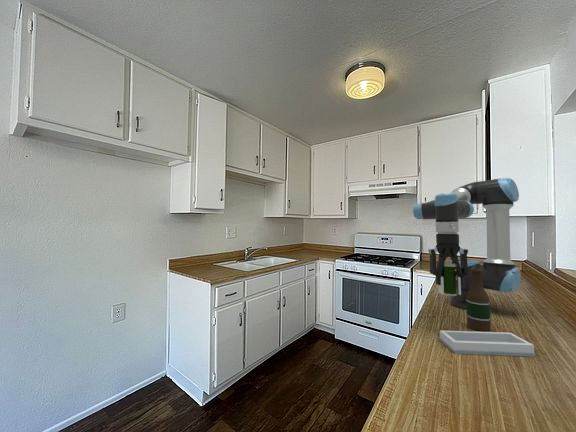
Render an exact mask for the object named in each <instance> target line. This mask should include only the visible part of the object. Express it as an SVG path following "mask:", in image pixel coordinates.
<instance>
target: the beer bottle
mask: <svg viewBox="0 0 576 432" xmlns="http://www.w3.org/2000/svg"><path fill="white" fill-rule="evenodd" d="M471 272H472V285H471V289H470V290H469V291H468V293H467V297H466V303H467V309H466V321H467V322H466V323H467V327H468V328H469V329H471V330H473V331H475V332H491V331H490V330H491V327H492V326H491V325H492V320H491V302H490V297H489V295H488V292H487V291H486V289H484V288H483V282H482V274H481V272H482V270H481V269H476V268H473V269H471Z"/></svg>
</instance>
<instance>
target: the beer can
mask: <svg viewBox="0 0 576 432" xmlns="http://www.w3.org/2000/svg"><path fill="white" fill-rule="evenodd" d="M441 276H442V277H443V281H444V294H443V295H445V296H448V297H451V296H457V294H458V283H457V266H456V263H455V264H454V263H452V261H451V262H450V261H445V262H444V266H443V270H442V274H441Z"/></svg>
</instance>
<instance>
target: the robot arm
mask: <svg viewBox="0 0 576 432" xmlns="http://www.w3.org/2000/svg"><path fill="white" fill-rule="evenodd" d="M519 199H520V192H519V189H518V185H517V184H516V182H515V180H513V179H512V178H510V177H502V178H501V177H499V178H493V179H488V180H487V179H486V180H480V181H474V182H470V183H467V184H464V185H462V186H459V187H457V188H454V189H453V190H452V191H451V192H446V193H439V194H436V195H435V197H434V199H432V200H429V201H428V202H420V203H416V204H415V205H414V206H413V208H412V213H413V216H414V218H415V219H416V220H424V221H425V220H435V233H436V234H435V242H436V245H435V247H434V248H428V249H427V250H428V253H429V273H430V275H432V276H435V285H437V289H438V290H437V291H438V294H441V295H444V281H443V277H442V276H441V274H442V270H443V266H444V262H446V260H447V258H450V260H451V262H452V263H454V264H455V263H456V266H457V283H458V294H457V296H450V299H449V304H450V305H451V306H453V307H456V308H459V309H463V310H467V303H466V297H467V293H468V291H469V290H470V289H471V285H472V272H471V269H473V268H476V269H481V270H482V272H481V274H482V282H483V288H484V290H490V291H496V292H500V293H509V294H511V293H515V292H516V291H517V290H518V289H519V287H520V284H521V279H522V273H521V270H520V268H517V267H516V264H515V262H514V261H512V260H511V227H510V226H511V225H510V224H511V222H510V220H511V219H510V209H512V208H513V207H514V206H515V205H514V203H516V202H519V201H518V200H519ZM474 205H482V208H483V209H485V210H486V212H485V213H486V259H484V260H483V261H482V262H483V264H481V262H480V260H479V261H478V260H468V254H469V250H468V249H466V248H462V247H461V246H460V235H459V234H458V233H459V232H460V230H459V229H460V227H459V219H461V220H462V219H463V220H464V219H467V218H469V217H471V216H472V215H473V213H474V212H475V208H474V207H475V206H474ZM437 253H438V256H437ZM458 253H459V256H458ZM437 257H438V260H437ZM459 259H460V260H459Z"/></svg>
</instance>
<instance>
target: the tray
mask: <svg viewBox="0 0 576 432" xmlns="http://www.w3.org/2000/svg"><path fill="white" fill-rule="evenodd" d="M438 339H439V341H440V342H442V344H444V345H445V346H446V348H448V349H449V350H451V351H452V352H453V354H456V355H458V354H460V355H477V356H478V355H479V356H481V355H485V356H501V357H502V356H505V357H530V358H536V353H535V345H534V344H533V343H531V342H529V341H527V340H525V339H524V338H522V337H519V336H518V335H516V334H514V333H512V332H503V331H501V332H498V331H489V332H480V331H474V330H473V331H471V330H441V329H440V330H439V338H438Z"/></svg>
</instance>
